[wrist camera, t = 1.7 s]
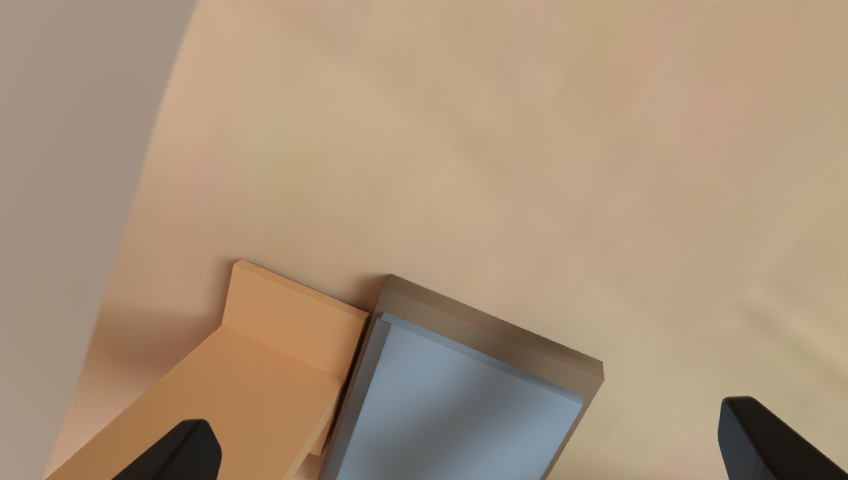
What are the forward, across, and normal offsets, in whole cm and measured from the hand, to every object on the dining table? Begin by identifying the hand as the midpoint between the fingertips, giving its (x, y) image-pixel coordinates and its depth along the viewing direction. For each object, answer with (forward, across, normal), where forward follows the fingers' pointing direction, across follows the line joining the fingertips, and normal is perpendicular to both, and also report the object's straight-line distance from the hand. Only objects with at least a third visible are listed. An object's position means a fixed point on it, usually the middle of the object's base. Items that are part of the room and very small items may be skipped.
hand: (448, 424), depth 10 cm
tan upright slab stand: (+12, +9, +8) cm, 17 cm away
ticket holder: (+10, +2, +12) cm, 16 cm away
